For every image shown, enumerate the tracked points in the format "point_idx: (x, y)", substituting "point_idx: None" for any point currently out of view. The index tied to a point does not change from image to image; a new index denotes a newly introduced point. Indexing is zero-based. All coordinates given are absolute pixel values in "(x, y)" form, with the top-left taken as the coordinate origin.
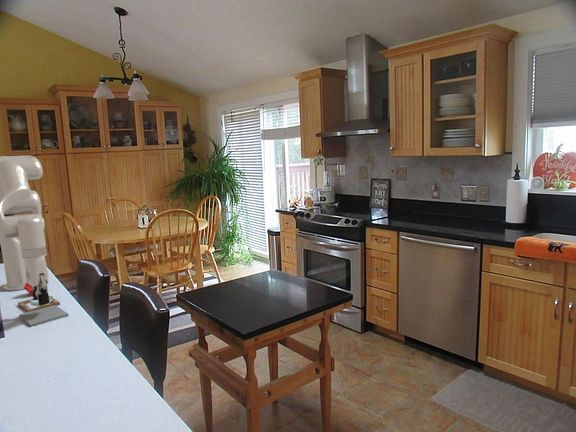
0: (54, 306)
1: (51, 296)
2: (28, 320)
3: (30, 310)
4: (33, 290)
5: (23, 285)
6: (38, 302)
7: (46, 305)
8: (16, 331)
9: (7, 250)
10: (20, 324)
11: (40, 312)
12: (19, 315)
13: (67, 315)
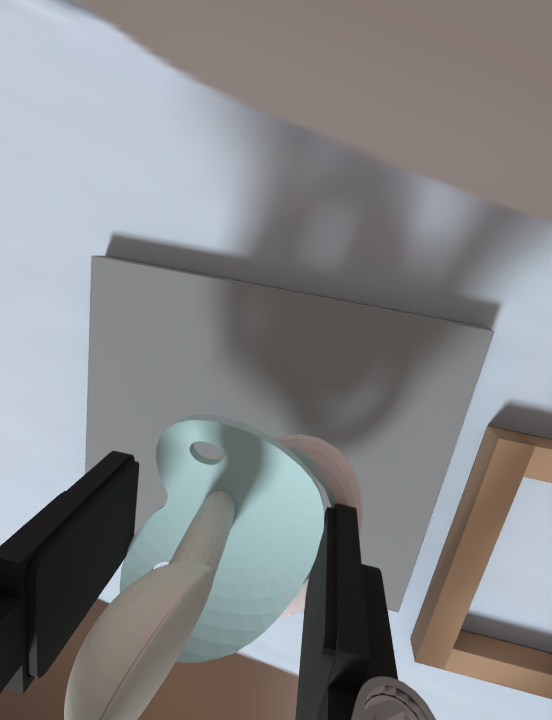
0: None
1: (208, 658)
2: (218, 300)
3: (491, 451)
4: (369, 687)
5: None
6: (218, 497)
7: (454, 579)
8: (105, 130)
9: None
10: (255, 235)
11: None
12: (462, 325)
13: None
